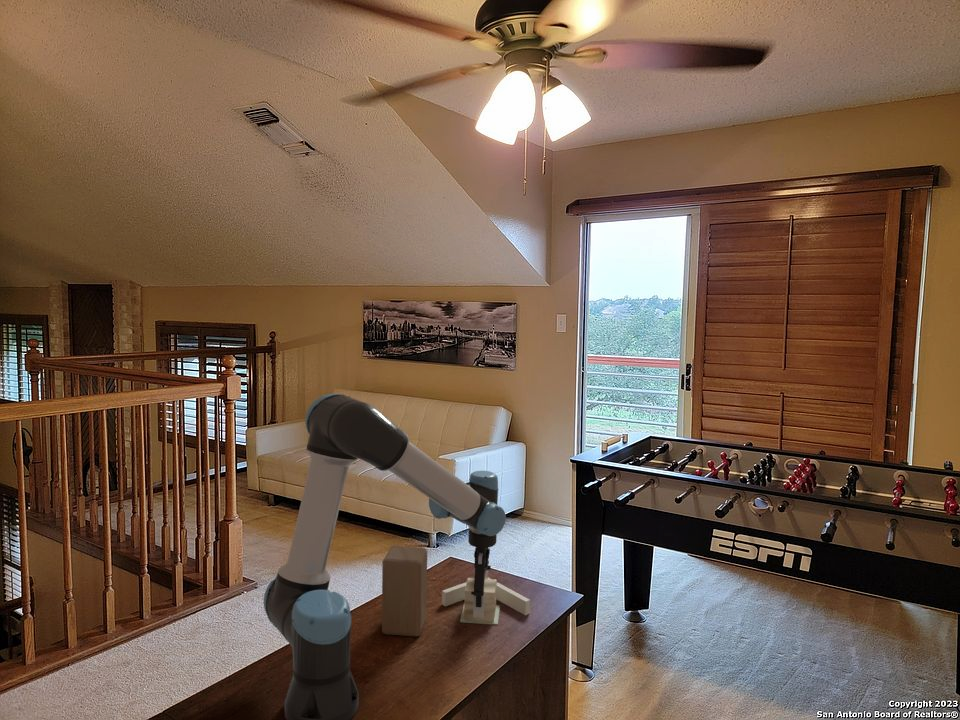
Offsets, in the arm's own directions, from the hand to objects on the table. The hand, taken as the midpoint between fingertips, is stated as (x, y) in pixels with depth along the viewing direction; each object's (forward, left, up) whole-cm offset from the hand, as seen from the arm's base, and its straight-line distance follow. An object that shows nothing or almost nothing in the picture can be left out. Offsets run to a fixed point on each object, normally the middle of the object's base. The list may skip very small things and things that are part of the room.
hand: (480, 604), depth 180 cm
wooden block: (-20, +7, -3) cm, 21 cm away
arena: (+2, +1, -3) cm, 4 cm away
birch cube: (0, 0, -2) cm, 2 cm away
